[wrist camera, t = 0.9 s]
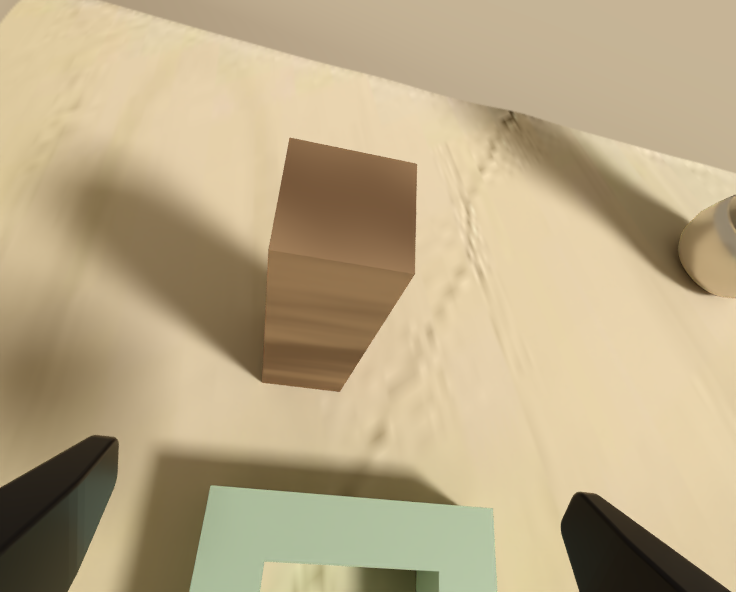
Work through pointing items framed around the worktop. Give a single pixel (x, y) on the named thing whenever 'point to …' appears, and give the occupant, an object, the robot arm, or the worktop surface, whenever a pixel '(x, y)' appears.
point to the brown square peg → (335, 261)
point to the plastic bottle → (712, 248)
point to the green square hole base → (342, 539)
